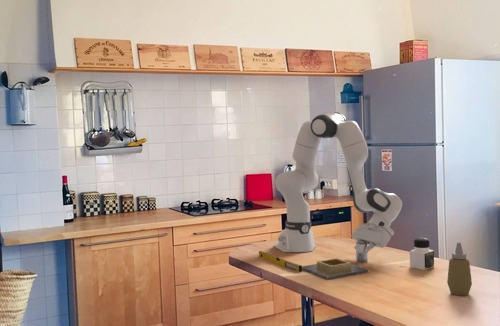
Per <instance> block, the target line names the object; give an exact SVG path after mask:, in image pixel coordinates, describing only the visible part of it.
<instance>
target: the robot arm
mask: <svg viewBox="0 0 500 326" xmlns="http://www.w3.org/2000/svg"><path fill="white" fill-rule="evenodd" d="M297 133H298V134H297V137H296V140H295V143H294V148H293V151H292V159H293V160H294V161H295V169H294V170H286V171H284V172H282V173H280V174H278V175H277V176H276V178H275V187H276V190H277V191H278V192H279V193H280V194H281V195H282V197H283V199H284V202H285V205H286V206H285V207H286V221H284V223H285V228H284V229H283V231H281V233H280V234H278V238H277V239H278V243H275V244H274V245H273V246H274V248H276V249H278V250H279V251H281V252H282V253H308V252H311V251H314V250H315V249H316V247H317V244H315V238H314V232H313V230H312V229H311V228H312V221H311V210H310V209H311V207H310V204H309V202H308V201H306V200H305V198H304V195H303V192H309V191H311V190H313V189H315V188H316V187H317V186H318V184H319V182H320V181H319V175H318V173H317V172H316V166H315V165H316V164H315V163H316V159H317V155H318V151H319V147H320V143H321V139H329V138H330V139H331V138H336V139H337V140H338V142H339V144H340V147H341V150H342V153H343V156H344V159H345V164H346V169H347V173H348V178H349V182H350V186H351V188H352V189H351V190H352V196H353V197H352V202H353V203H352V204H353V206H354V208H355V210H357V211H358V212H359V213H364V214H366V213H369V212H373V215H372V216H371V217H370V218H369V220H368V221H367V223H365V222H364V223H362V224H360V225H358V227H356V228H355V229H354V231H353V232H352V234H351V238H352V239H353V240H355V241H356V243H357V241H359V240H364V241H366V243H367V247H365V248H364V249H363V251H364V252H366V253H367V254H368V253H369V252H370V251H371V250H372V249H375V248H374V247H377V248H381V249H383V248H385V247H386V246H387V245H388V243H389V242H390V240H391V238H392V237H393V235H394V234H395V231H394V230H393V229H392V228H391V224H392V222H393V221H395V220H396V219H397V217H398V215H399V214H400V212H401V210H402V207H403V201H402V199H401V197H399V196H398V195H397V194H395V193H389V192H385V191H383V190H381V189H379V188H377V187H376V188H375V187H374V188H369V189H368V188H367V186H366V182H365V178H364V175H363V167H364V165H365V163H366V162H367V159H368V157H369V149H368V143H367V142H366V138H365V136H364V134H363V131H362V130H361V127H360V125H359V124H358V123H357V122H356V121H355V120H347V118H346V116H344V114H342V113H340V112H338V111H336V112H326V113H325V112H324V113H321V114H319V115H316V116H315V117H314V118H313V119H312V120H307V121H305V122H303V123H302V125H301V127H300V129H299V131H298V132H297ZM356 243H355V244H356ZM354 249H355V250H356V245H354Z"/></svg>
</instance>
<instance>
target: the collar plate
mask: <svg viewBox="0 0 500 326" xmlns="http://www.w3.org/2000/svg"><path fill="white" fill-rule="evenodd" d="M302 271H305V272H308V273H310V274H312V275H314V276H317V277H320V278H323V279H324V280H333V279H338V278H344V277H350V276H355V275H361V274H366V273H369V269H367V268H364V267H362V266H358V265H355V264H352V262H349V261H345V260H344V259H340V258H338V257H336V258H332V259H331V258H330V259H324V260H318V261H316V263H313V264H308V265H302Z"/></svg>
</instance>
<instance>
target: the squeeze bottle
mask: <svg viewBox="0 0 500 326" xmlns="http://www.w3.org/2000/svg"><path fill="white" fill-rule="evenodd" d="M455 247H456V248H455V251H454V252H453V251H452V253H451V258H450V259H449V260H448V261H449V263H448V270H447V271H448V273H447V281H446V282H447V286H448V288H449V291H450V294H452V295H454V296H460V297H462V296H464V297H465V296H467V295H468V296H469V293H470V291H471V288H472V284H473V283H472V275H471V274H472V273H471V263H470V260H469V259H468V258H467V253H466V252H464V250H463V246H462V242H457V243H456V246H455Z"/></svg>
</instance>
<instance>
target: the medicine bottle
mask: <svg viewBox="0 0 500 326" xmlns="http://www.w3.org/2000/svg"><path fill="white" fill-rule="evenodd" d="M413 247H414V249H411V250H409V267H410V268H412V269H418V270H421V271H427V270H429V269H432V268H434V267H435V250H433V249H430V240H429V239H428V238H425V237H417V238H415V239H414V240H413Z"/></svg>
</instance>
